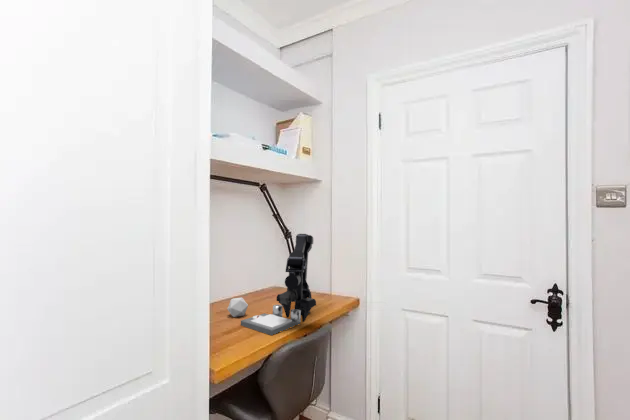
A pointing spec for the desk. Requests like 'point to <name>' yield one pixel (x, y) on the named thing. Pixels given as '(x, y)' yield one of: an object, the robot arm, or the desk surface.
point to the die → (237, 307)
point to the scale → (267, 323)
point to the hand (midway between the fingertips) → (295, 319)
